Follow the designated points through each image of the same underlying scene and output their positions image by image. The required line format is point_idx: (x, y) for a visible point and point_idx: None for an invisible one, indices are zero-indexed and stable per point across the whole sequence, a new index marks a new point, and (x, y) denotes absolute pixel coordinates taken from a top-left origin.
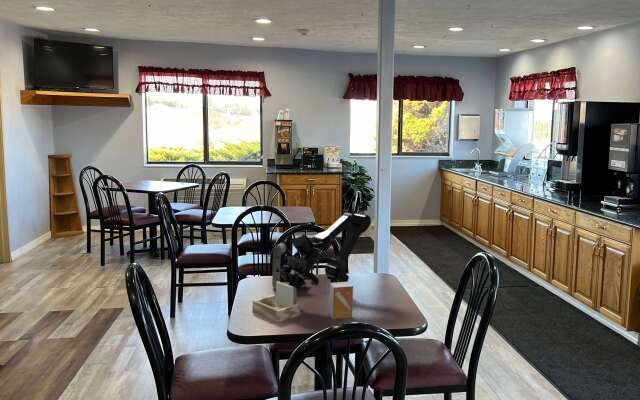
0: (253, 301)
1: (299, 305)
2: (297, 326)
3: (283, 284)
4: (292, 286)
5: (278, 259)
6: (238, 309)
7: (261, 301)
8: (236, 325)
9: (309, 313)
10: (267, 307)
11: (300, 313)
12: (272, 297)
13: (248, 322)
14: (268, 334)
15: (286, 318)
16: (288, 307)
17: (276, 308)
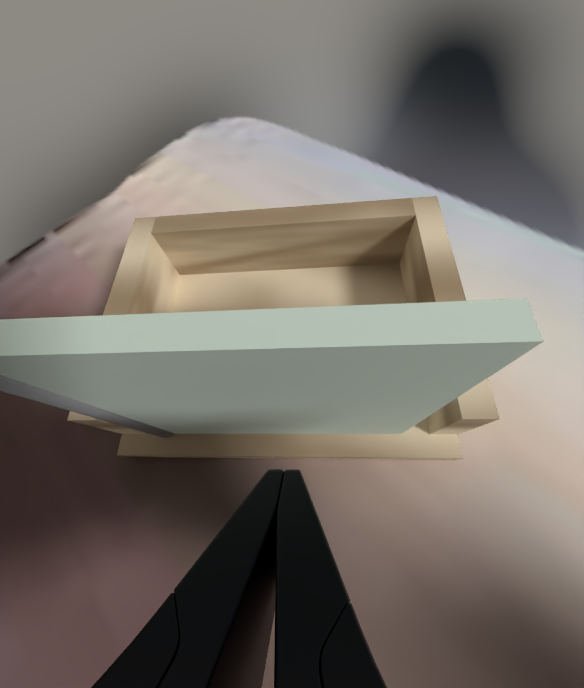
0: (421, 198)
1: (77, 420)
2: (54, 309)
3: (256, 311)
4: (11, 354)
5: None
6: (500, 223)
7: (419, 266)
8: (298, 142)
9: (89, 530)
10: (250, 213)
11: (124, 444)
12: None
13: (289, 183)
14: (125, 182)
15: None
16: (114, 301)
17: None
